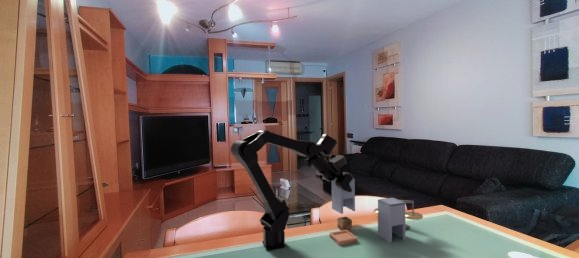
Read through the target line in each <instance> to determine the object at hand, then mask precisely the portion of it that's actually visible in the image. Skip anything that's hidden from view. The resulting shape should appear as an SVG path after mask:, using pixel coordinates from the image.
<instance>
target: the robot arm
mask: <svg viewBox="0 0 579 258" xmlns="http://www.w3.org/2000/svg"><path fill="white" fill-rule="evenodd" d="M266 144H271V145H272V146H273V145H274V146H277V147H280V148H284V149H287V150H290V151H291V152H293V153H295V154H297V155H298V156H300V157H301V156H302V157H307V158H305V159H303V160H304V161H303V166H304V167H307V168H310V167H313V169H314V170H315V172H316V173H315V178H316V179H318V181H321V182H323V183H324V184H328V185H330V186H332V183H331V181H334V180H335V179H336V181H335V185H336V186H337V188H339V189H342V190H345V191H348V192H350V193H351V191H352V189H351V187H350V184H349V183H350V182H351V181H352V179H353V178H354V175H352V174H351V173H350V172H347V171H342V172H340V171H341V168H342V167H343V166H345V165H347V164H348V162H347V160H346V158H345V155H341V154H333V153H332V152H333V151H334V149H335V148H336V146H337V145H338V140H336V139H335V138H334V137H332V136H330V135H328V134H327V133H323V134H322V136H321V137H320V139H319V140H318V142H317V143H316V142H314V141H312V140H311V141H310V140H308V141H307V140H301V139H293V138H291V137H287V136H285V135H284V136H283V135H280V134H278V133H275V132H271V131H270V130H265V129H259V130H258V131H256V132H255V133H253V134H251V135H248V136H246V137H244V138H242V139H239V140H235V141H234V142H233V143H232V144H231V147H230V152H231V155H232V156H233V157H234V158H235V159H236V161H237V162H238V163H239V164H240V165H241V166H242V167H243V168H245V171H246V172H247V174H248V176H249V178H250V179H251V181H252V184H253V185H254V187H255V188H256V190H257V192H258V194H259V196H260V197H261V200H262V202H263V209H264V213H263V215H262V216H261V218H260V219H259V222H260V225H261V226H263V229H262V230H263V233H262V235H263V240H262V245H263V247H264V248H265V251H271V250H275V249H283V248H285V247H286V245H285V242H286V241H285V239H286V238H285V234H286V233H285V230H286V227H287V224H288V220H289V218H290V216H291V214H290V211H289V210H290V208H289V207H288V205H287V202H286V200H285V199H283V198H282V197H279V196H278V195H276V194H275V192H274V190H273V189H272V187H271V185H270V183H269V181H268V179H267V177H266V176H265V173H264V171H263V170H262V168H261V166H260V164H259V156H258V152H259V151H260V150H261V149H262V148H263V147H264V146H265V145H266ZM327 157H328V159H327ZM339 172H340V173H339Z"/></svg>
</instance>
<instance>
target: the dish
mask: <svg viewBox="0 0 579 258" xmlns="http://www.w3.org/2000/svg"><path fill="white" fill-rule="evenodd" d="M329 238H330V239H331V240H332V241H334V243H336V244H337V245H338V246H345V245H349V244H355V243H357V242H358V237H357V236H356V235H355V234H353V233H352V232H351V231H348V230H342V231H341V230H338V231H331V232H329Z"/></svg>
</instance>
